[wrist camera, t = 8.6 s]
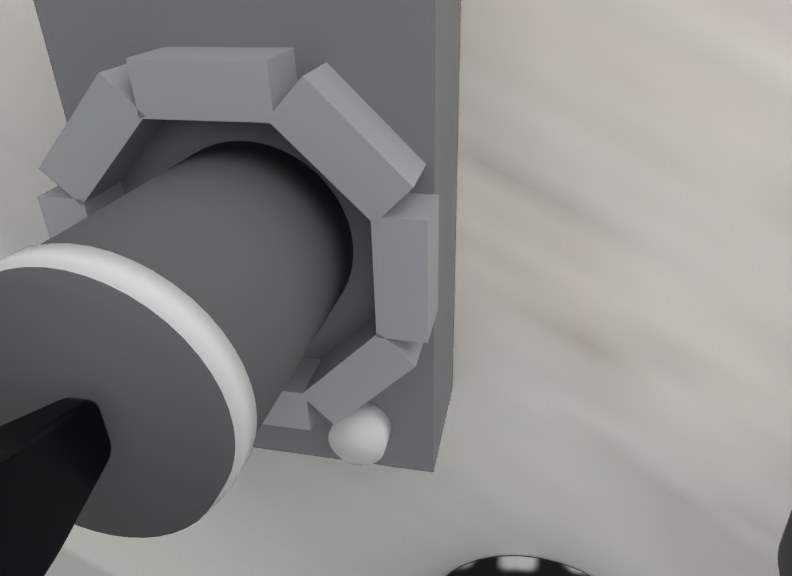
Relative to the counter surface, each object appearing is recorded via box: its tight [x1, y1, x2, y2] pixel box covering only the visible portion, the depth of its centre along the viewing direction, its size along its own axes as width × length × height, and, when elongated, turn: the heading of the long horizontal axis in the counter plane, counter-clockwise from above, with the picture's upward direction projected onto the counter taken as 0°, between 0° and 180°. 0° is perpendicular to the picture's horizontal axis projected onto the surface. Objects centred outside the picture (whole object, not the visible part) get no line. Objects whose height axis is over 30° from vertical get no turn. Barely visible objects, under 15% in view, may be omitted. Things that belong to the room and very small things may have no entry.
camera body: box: [34, 0, 461, 472], centre depth 17 cm, size 9×14×6 cm, turn 1°
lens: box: [0, 141, 353, 538], centre depth 13 cm, size 5×5×7 cm
